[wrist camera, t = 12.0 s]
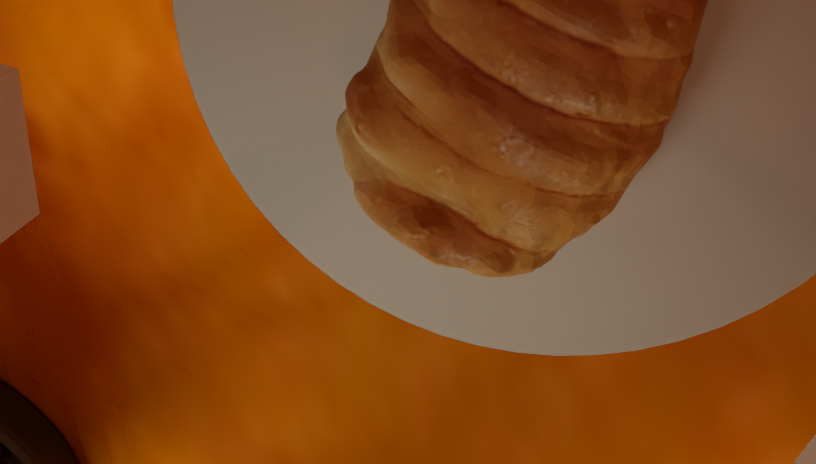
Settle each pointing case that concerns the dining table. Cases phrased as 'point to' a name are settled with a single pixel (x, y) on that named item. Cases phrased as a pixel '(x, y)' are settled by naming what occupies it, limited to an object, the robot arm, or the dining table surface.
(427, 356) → the dining table surface
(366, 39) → the cake stand
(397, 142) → the pastry
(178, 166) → the dining table surface
